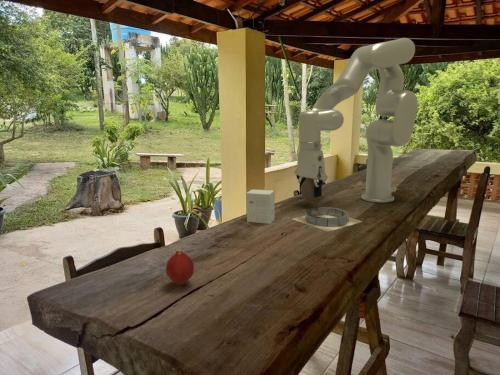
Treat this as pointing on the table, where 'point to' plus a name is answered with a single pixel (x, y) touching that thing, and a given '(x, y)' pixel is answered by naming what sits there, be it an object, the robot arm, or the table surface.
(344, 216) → the ring collar
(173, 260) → the onion
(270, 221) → the small box
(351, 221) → the birch board
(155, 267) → the table surface
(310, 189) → the vase
